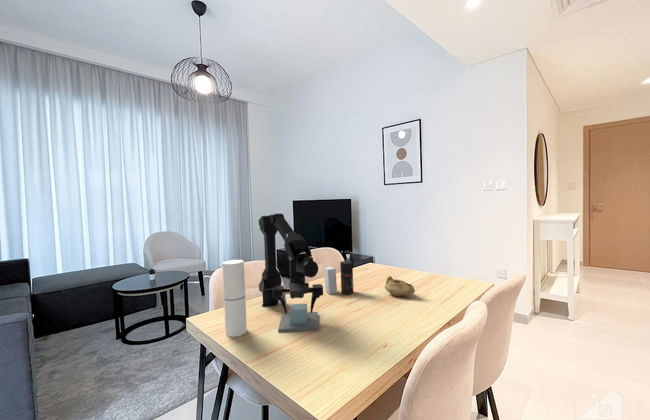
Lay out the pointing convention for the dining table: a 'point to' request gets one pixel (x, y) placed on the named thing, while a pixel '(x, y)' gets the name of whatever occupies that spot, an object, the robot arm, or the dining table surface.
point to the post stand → (310, 325)
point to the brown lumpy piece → (398, 287)
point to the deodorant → (346, 277)
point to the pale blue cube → (298, 313)
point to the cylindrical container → (234, 298)
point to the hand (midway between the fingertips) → (298, 313)
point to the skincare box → (330, 280)
